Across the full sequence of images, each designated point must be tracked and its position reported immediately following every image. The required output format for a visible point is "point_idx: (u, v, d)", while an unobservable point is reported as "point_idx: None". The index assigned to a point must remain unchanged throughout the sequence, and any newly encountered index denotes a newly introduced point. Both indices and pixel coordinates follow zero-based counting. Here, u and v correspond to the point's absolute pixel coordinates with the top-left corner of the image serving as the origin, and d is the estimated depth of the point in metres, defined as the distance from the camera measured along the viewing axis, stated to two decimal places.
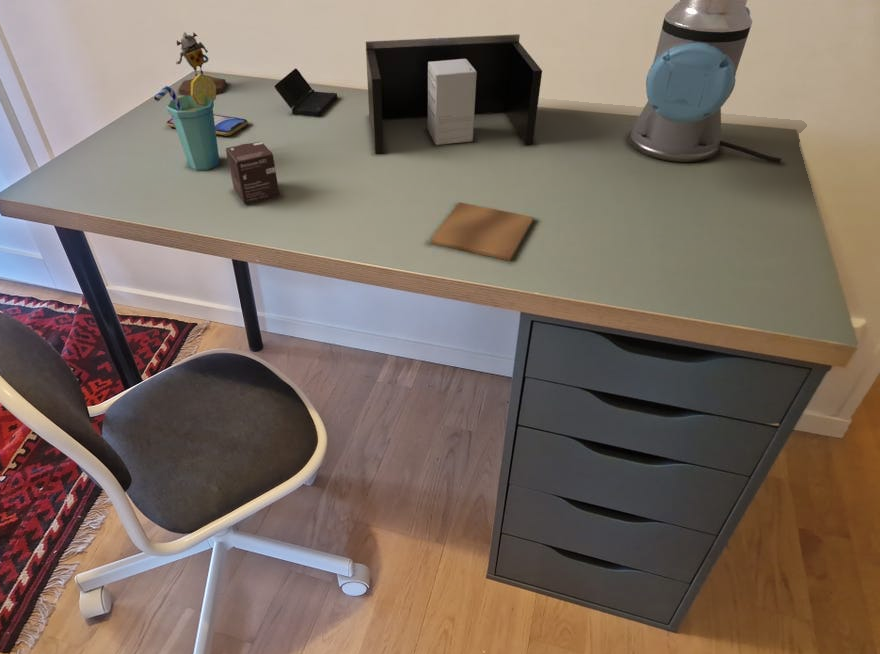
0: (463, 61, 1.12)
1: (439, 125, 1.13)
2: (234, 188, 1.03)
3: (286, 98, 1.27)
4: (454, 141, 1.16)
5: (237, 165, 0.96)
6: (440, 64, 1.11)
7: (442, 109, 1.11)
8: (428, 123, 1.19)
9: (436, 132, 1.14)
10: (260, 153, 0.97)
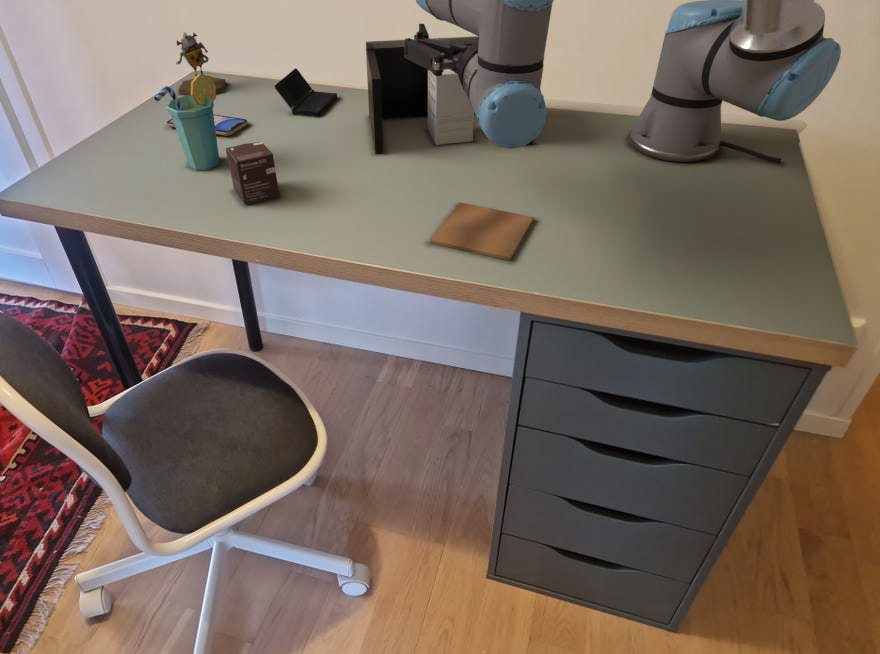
0: None
1: (439, 125, 1.13)
2: (234, 188, 1.03)
3: (286, 98, 1.27)
4: (454, 141, 1.16)
5: (237, 165, 0.96)
6: None
7: (442, 109, 1.11)
8: (428, 123, 1.19)
9: (436, 132, 1.14)
10: (260, 153, 0.97)
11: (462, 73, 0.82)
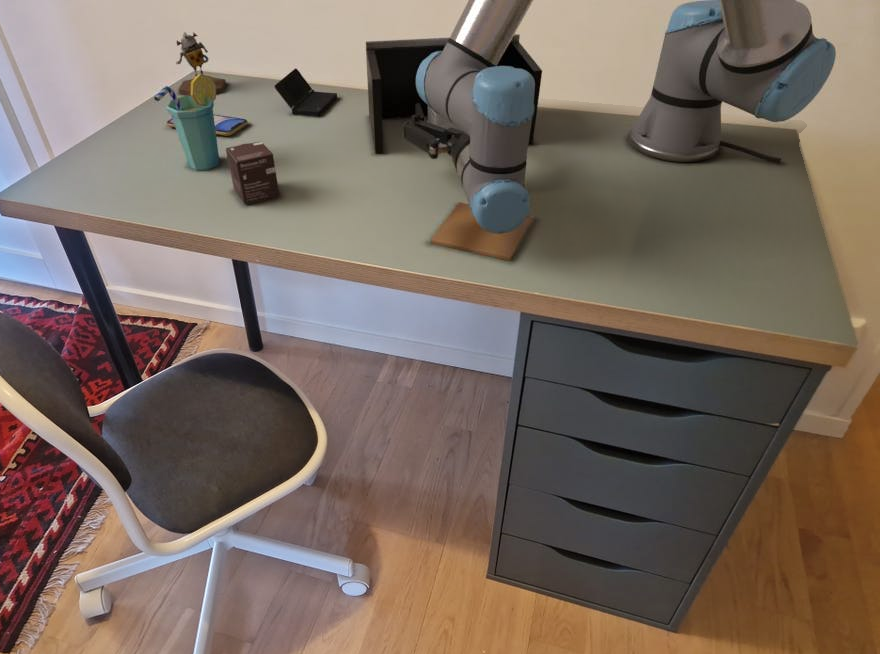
0: None
1: (439, 125, 1.13)
2: (234, 188, 1.03)
3: (286, 98, 1.27)
4: None
5: (237, 165, 0.96)
6: None
7: None
8: None
9: None
10: (260, 153, 0.97)
11: (455, 159, 0.93)
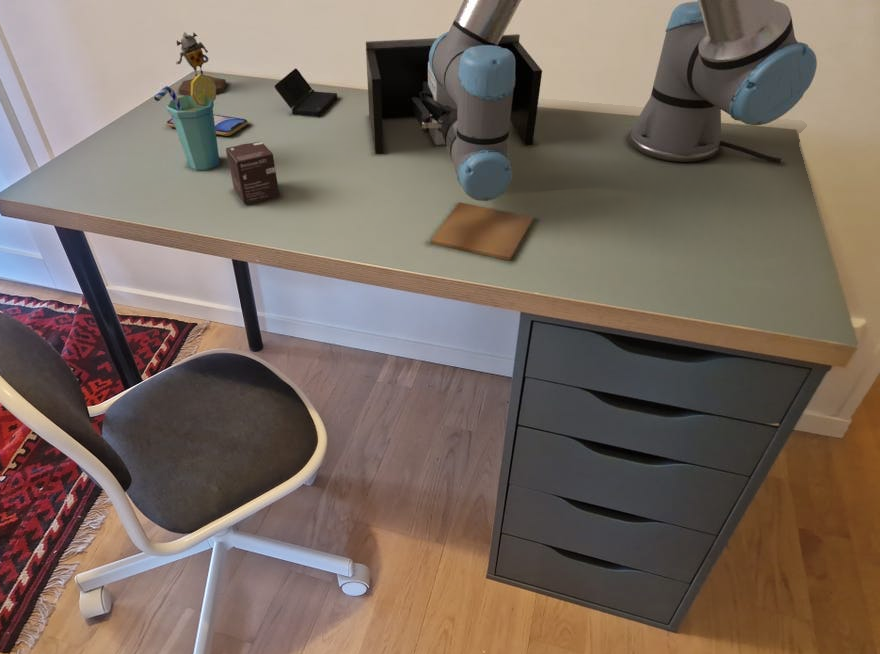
0: None
1: None
2: (234, 188, 1.03)
3: (286, 98, 1.27)
4: None
5: (237, 165, 0.96)
6: None
7: None
8: None
9: (436, 132, 1.14)
10: (260, 153, 0.97)
11: (445, 135, 1.01)
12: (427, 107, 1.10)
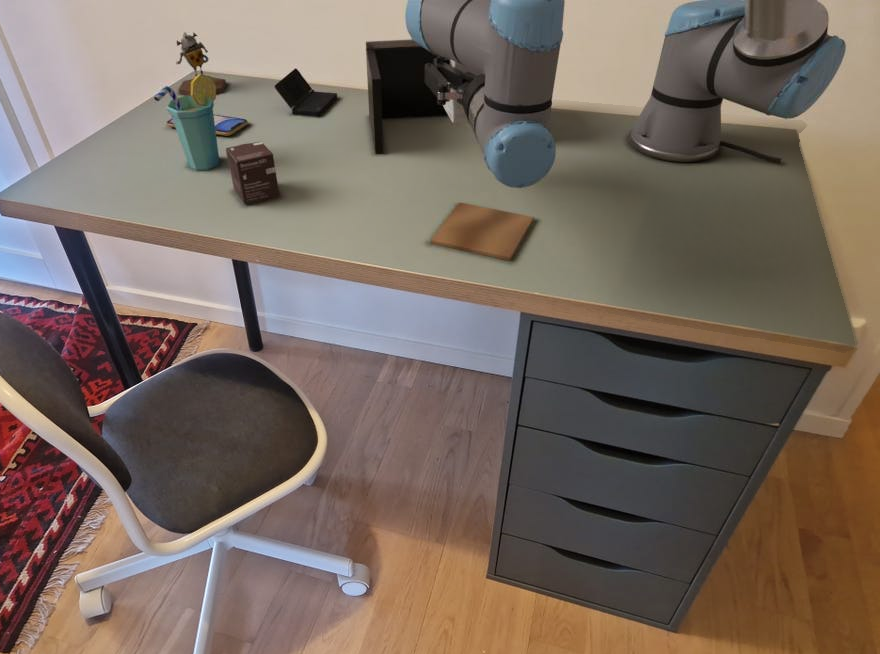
0: None
1: None
2: (234, 188, 1.03)
3: (286, 98, 1.27)
4: None
5: (237, 165, 0.96)
6: None
7: None
8: None
9: (454, 107, 0.94)
10: (260, 153, 0.97)
11: (467, 106, 0.80)
12: (443, 75, 0.90)
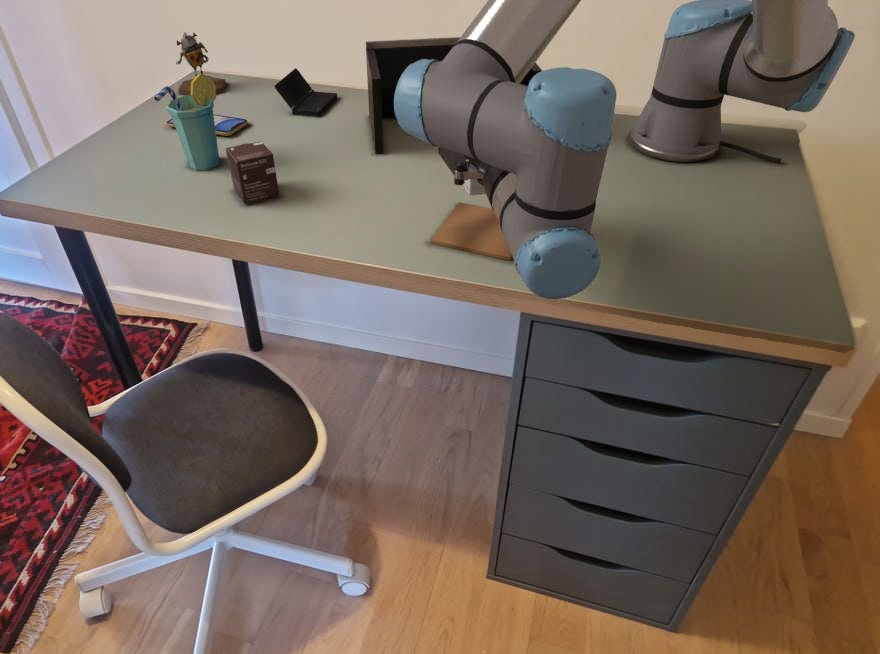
0: None
1: None
2: (234, 188, 1.03)
3: (286, 98, 1.27)
4: None
5: (237, 165, 0.96)
6: None
7: None
8: None
9: (471, 179, 0.83)
10: (260, 153, 0.97)
11: (491, 192, 0.70)
12: None
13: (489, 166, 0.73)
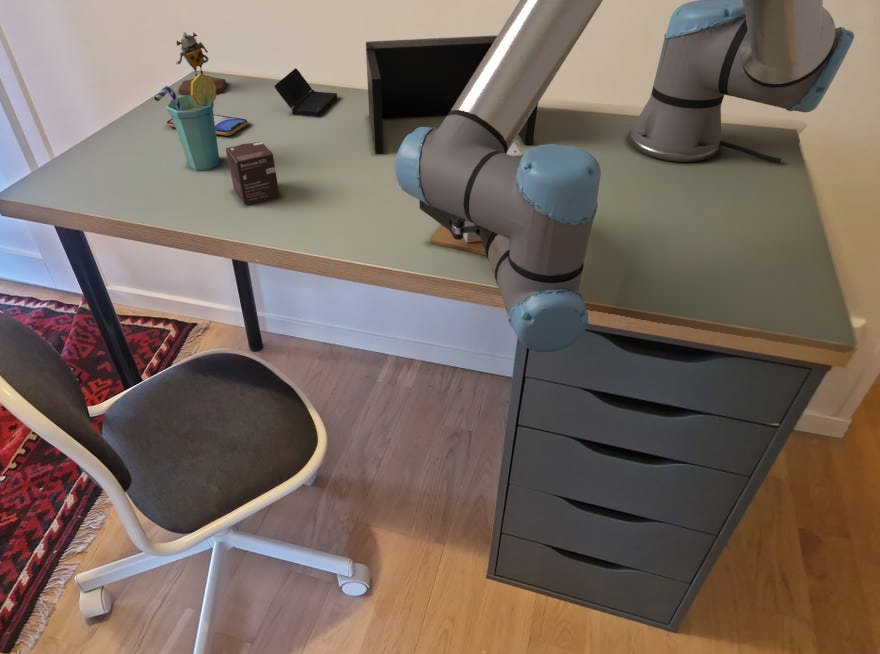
0: None
1: None
2: (234, 188, 1.03)
3: (286, 98, 1.27)
4: None
5: (237, 165, 0.96)
6: None
7: None
8: None
9: None
10: (260, 153, 0.97)
11: (487, 245, 0.74)
12: None
13: None
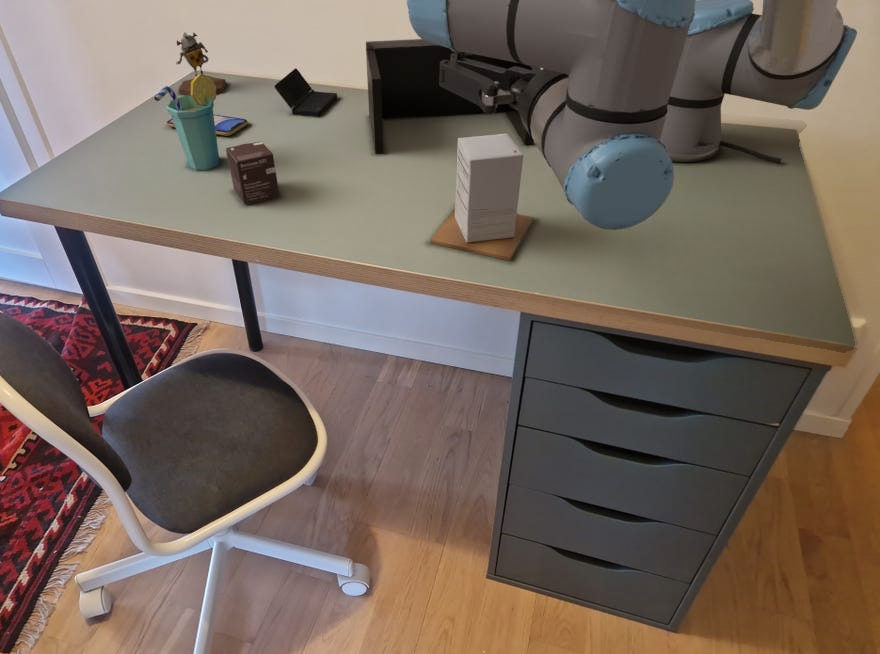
0: (504, 138, 0.86)
1: (472, 220, 0.87)
2: (234, 188, 1.03)
3: (286, 98, 1.27)
4: (490, 238, 0.90)
5: (237, 165, 0.96)
6: (474, 142, 0.85)
7: (476, 201, 0.85)
8: (456, 211, 0.93)
9: (468, 228, 0.88)
10: (260, 153, 0.97)
11: (528, 112, 0.58)
12: None
13: (524, 85, 0.61)
